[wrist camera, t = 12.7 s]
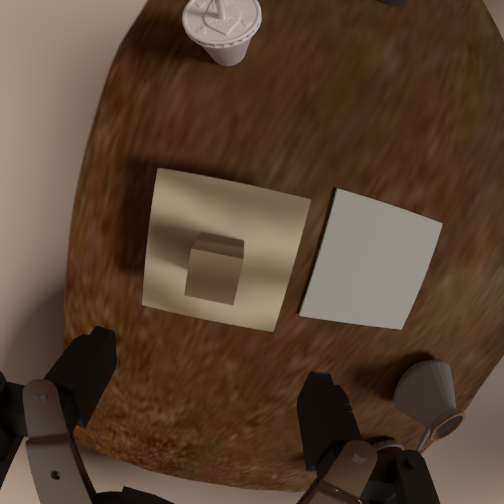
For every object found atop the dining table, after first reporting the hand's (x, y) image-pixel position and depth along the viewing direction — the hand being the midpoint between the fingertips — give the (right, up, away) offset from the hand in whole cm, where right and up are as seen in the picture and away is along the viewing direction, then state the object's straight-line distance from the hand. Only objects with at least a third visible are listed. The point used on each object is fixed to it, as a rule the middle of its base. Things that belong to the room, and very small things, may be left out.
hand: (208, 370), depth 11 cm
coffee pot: (+29, -22, +32) cm, 48 cm away
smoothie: (-1, +26, +15) cm, 31 cm away
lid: (-1, +4, +17) cm, 18 cm away
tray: (+17, +3, +23) cm, 29 cm away
